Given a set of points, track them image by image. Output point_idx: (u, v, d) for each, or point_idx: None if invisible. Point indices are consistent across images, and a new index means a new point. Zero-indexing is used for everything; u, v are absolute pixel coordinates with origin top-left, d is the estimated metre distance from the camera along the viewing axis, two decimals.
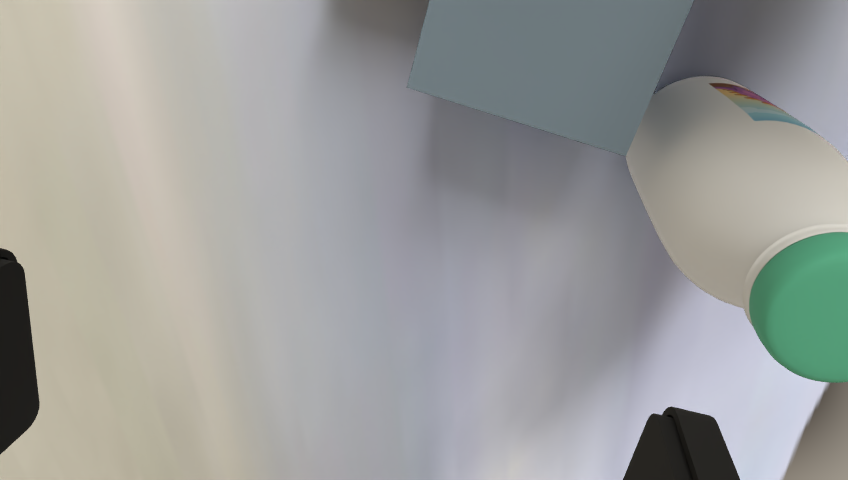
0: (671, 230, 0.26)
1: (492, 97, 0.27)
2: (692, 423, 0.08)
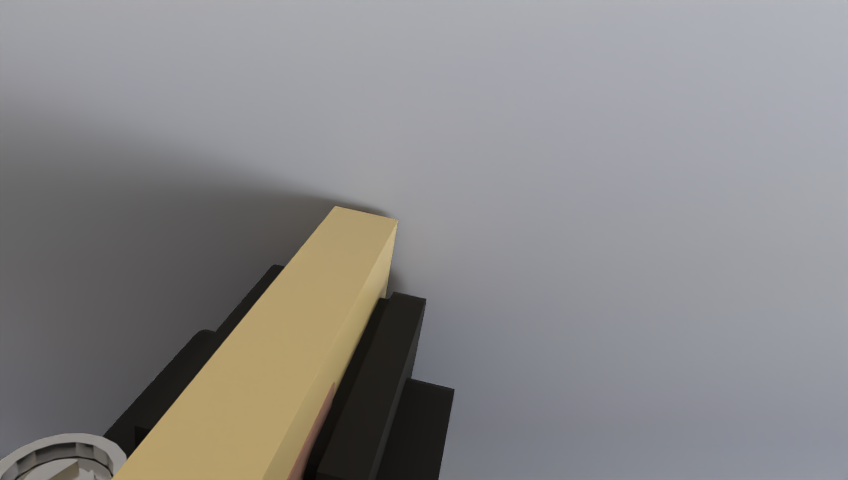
0: None
1: None
2: (400, 301, 0.09)
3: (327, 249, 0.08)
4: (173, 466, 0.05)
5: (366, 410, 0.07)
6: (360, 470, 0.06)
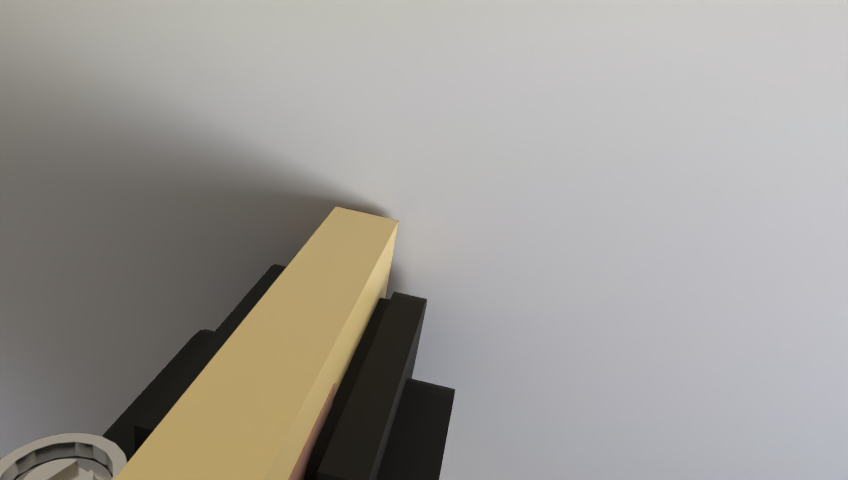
0: None
1: None
2: (401, 301, 0.09)
3: (328, 250, 0.08)
4: (174, 467, 0.05)
5: (367, 410, 0.07)
6: (360, 471, 0.06)
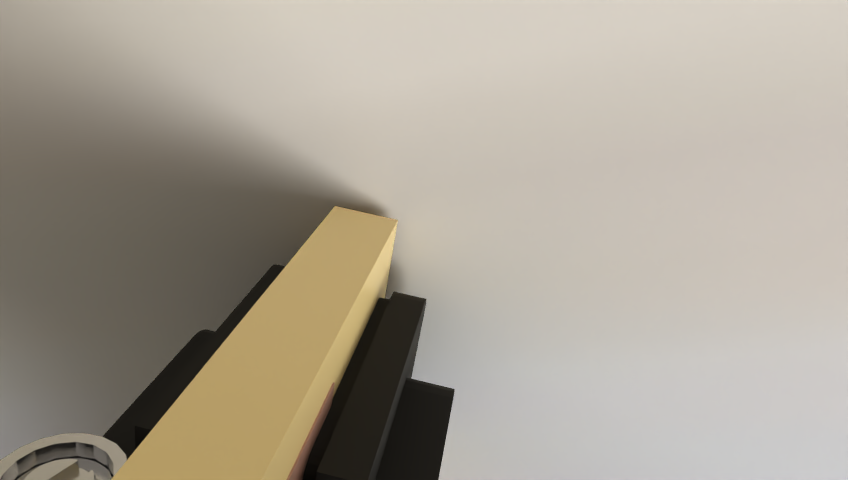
0: None
1: None
2: (400, 301, 0.09)
3: (326, 249, 0.08)
4: (172, 466, 0.05)
5: (366, 410, 0.07)
6: (360, 470, 0.06)
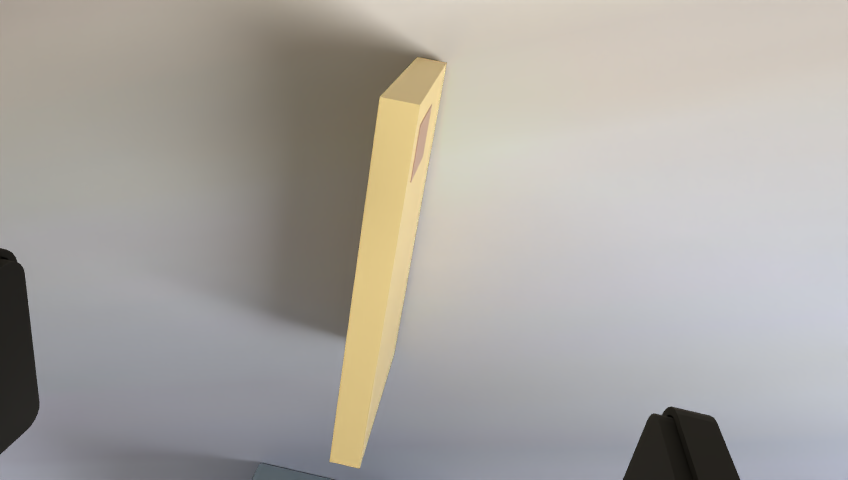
0: None
1: None
2: (692, 423, 0.08)
3: (420, 66, 0.20)
4: (400, 91, 0.16)
5: None
6: None
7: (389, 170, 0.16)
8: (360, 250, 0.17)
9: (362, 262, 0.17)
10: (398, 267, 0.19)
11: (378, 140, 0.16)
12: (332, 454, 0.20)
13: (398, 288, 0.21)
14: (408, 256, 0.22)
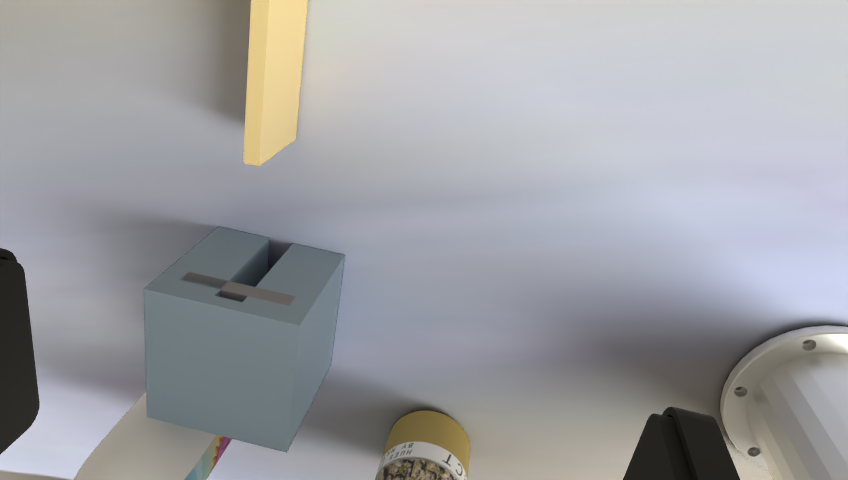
0: (99, 464, 0.41)
1: (155, 342, 0.39)
2: (692, 423, 0.08)
3: None
4: None
5: None
6: None
7: None
8: (250, 27, 0.34)
9: (252, 34, 0.34)
10: (277, 48, 0.36)
11: None
12: (244, 157, 0.37)
13: (283, 71, 0.38)
14: (294, 62, 0.39)
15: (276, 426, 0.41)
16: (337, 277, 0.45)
